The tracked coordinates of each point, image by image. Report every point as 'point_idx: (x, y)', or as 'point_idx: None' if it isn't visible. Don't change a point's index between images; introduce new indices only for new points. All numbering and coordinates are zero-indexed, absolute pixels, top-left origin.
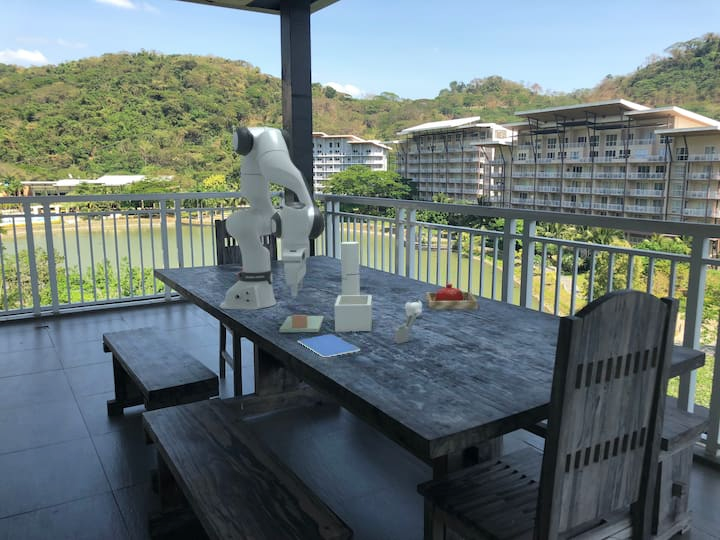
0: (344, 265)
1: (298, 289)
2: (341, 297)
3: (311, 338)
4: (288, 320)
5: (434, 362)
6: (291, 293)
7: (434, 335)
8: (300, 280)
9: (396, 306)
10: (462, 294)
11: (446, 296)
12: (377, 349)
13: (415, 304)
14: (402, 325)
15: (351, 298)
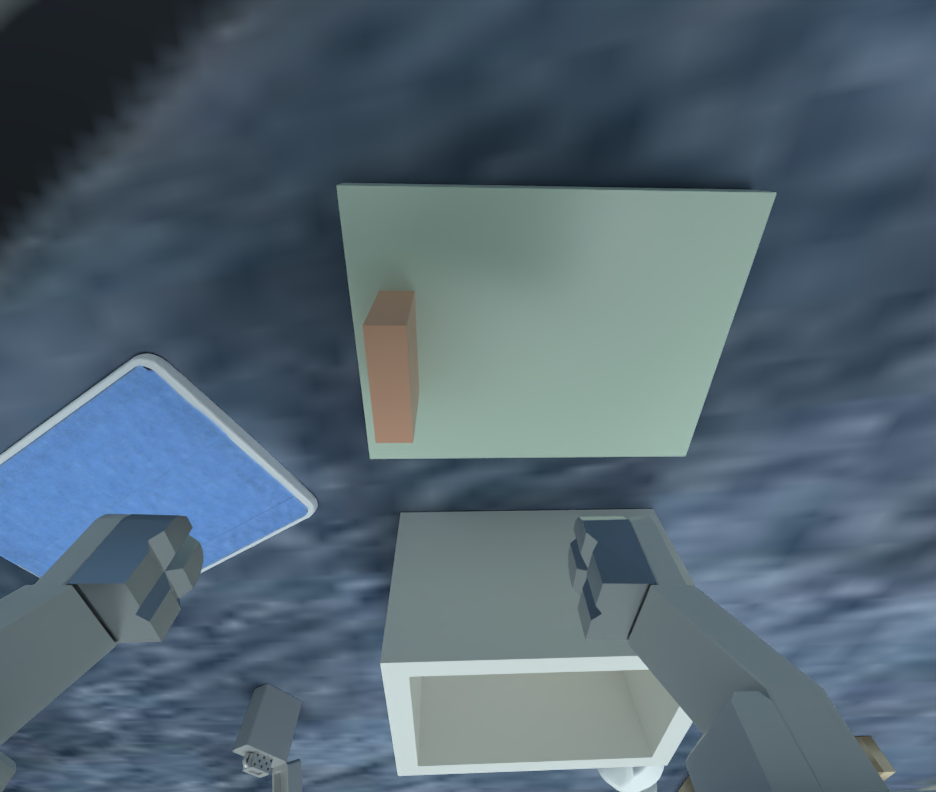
0: None
1: (578, 540)
2: None
3: (203, 432)
4: (612, 222)
5: (90, 747)
6: (72, 547)
7: (370, 748)
8: (706, 704)
9: (811, 676)
10: None
11: None
12: (162, 649)
13: (613, 786)
14: (263, 771)
15: None
